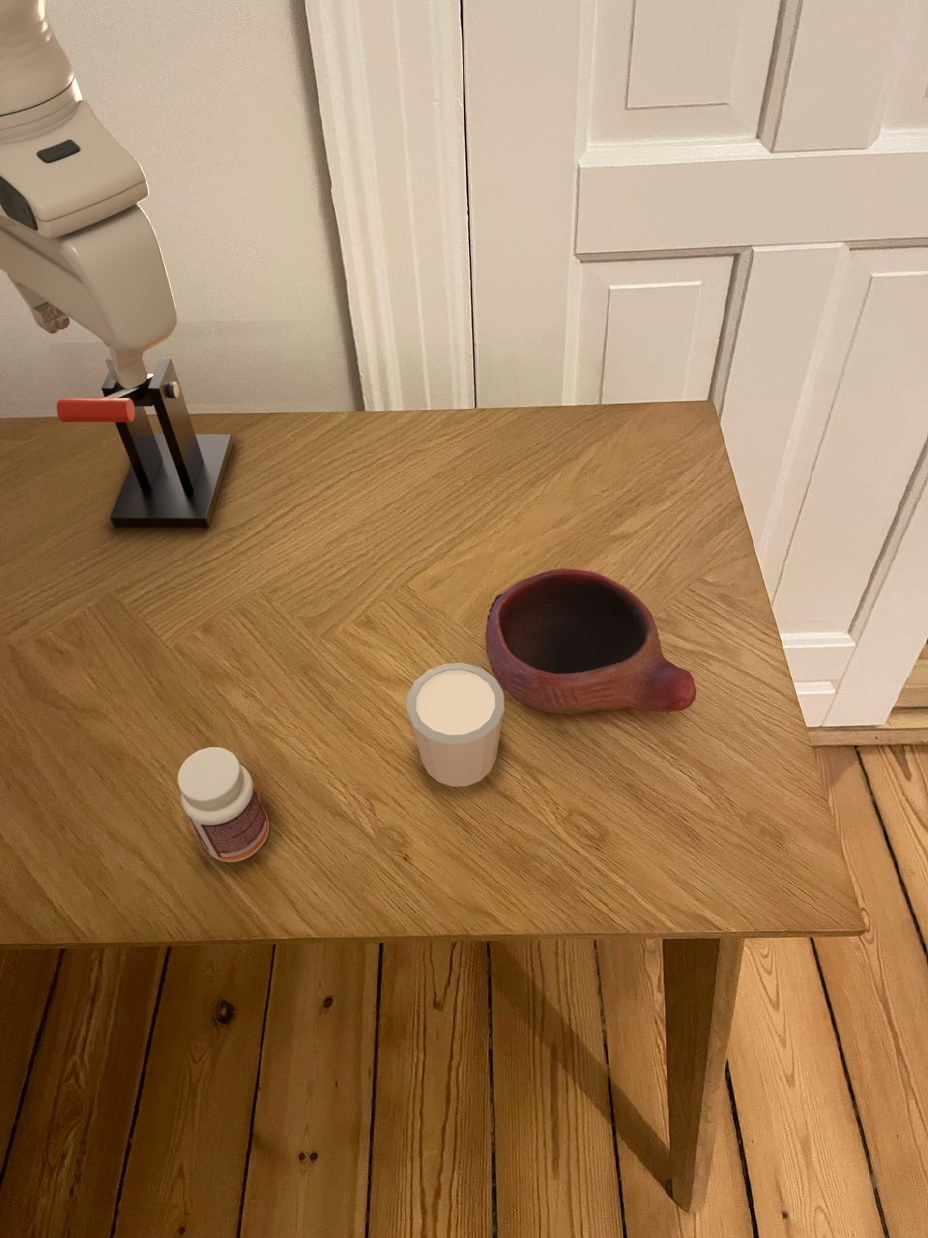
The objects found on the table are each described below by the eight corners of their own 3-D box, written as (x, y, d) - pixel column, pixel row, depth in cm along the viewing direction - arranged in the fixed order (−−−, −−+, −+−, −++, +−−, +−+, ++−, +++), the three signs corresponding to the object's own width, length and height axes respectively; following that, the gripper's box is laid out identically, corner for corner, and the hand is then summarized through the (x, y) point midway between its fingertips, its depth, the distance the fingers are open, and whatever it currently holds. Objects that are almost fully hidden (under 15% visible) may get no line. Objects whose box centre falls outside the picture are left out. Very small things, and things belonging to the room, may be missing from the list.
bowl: (468, 724, 72) (465, 662, 66) (503, 601, 80) (504, 535, 74) (679, 765, 69) (696, 704, 63) (694, 633, 77) (711, 567, 71)
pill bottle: (282, 817, 68) (259, 756, 61) (246, 874, 65) (218, 817, 58) (227, 793, 69) (199, 731, 63) (189, 848, 66) (156, 789, 60)
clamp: (208, 527, 87) (171, 416, 77) (113, 527, 87) (64, 416, 77) (234, 443, 94) (202, 332, 85) (146, 443, 95) (104, 332, 85)
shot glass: (521, 741, 71) (523, 687, 66) (473, 810, 68) (470, 759, 62) (445, 702, 74) (441, 647, 68) (395, 767, 70) (386, 714, 65)
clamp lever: (128, 427, 73) (124, 396, 72) (59, 427, 73) (53, 396, 72) (180, 401, 84) (177, 373, 83) (120, 401, 84) (116, 373, 83)
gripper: (-126, 109, 56) (-27, 315, 67) (56, 221, 47) (137, 440, 57) (-28, 76, 59) (52, 279, 69) (162, 176, 49) (220, 392, 60)
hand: (92, 353), depth 63 cm, fingers open, 8 cm apart
